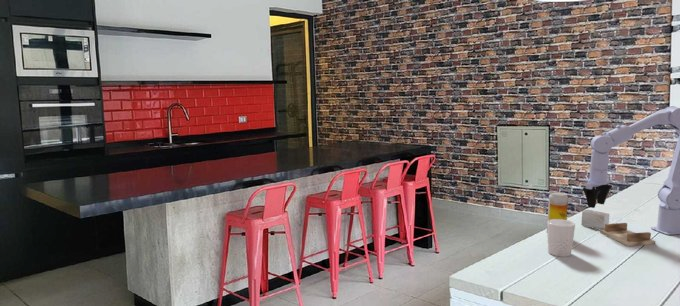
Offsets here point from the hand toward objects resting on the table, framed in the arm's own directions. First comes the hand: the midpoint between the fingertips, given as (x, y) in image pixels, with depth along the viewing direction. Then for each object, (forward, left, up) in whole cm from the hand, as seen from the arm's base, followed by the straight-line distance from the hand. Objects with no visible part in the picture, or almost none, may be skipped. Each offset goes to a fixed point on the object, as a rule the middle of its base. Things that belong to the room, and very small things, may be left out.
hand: (596, 205), depth 192 cm
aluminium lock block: (0, 0, -8) cm, 8 cm away
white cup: (+29, +23, -8) cm, 38 cm away
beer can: (+20, +7, -8) cm, 23 cm away
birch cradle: (-2, +14, -8) cm, 16 cm away
